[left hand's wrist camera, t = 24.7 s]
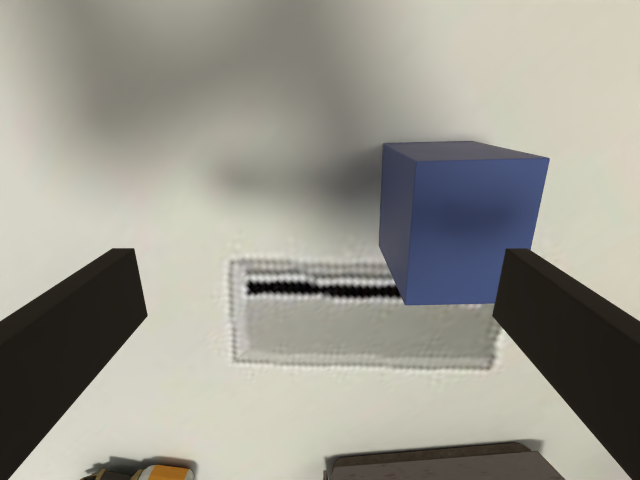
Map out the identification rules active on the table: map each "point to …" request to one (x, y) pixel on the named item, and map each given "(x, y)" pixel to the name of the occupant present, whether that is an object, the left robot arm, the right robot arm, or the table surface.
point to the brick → (455, 217)
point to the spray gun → (146, 474)
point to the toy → (449, 465)
